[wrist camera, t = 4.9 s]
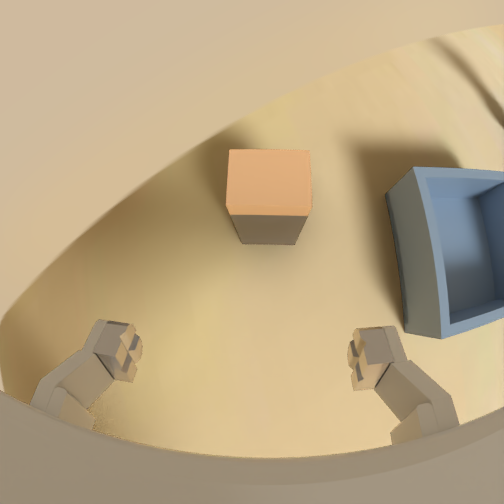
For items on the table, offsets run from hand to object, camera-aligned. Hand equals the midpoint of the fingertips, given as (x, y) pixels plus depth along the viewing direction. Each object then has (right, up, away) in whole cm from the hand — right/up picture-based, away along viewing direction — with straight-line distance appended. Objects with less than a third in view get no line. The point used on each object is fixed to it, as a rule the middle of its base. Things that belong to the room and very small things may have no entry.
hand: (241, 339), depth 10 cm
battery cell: (+2, +5, +12) cm, 13 cm away
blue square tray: (+18, +3, +11) cm, 21 cm away
